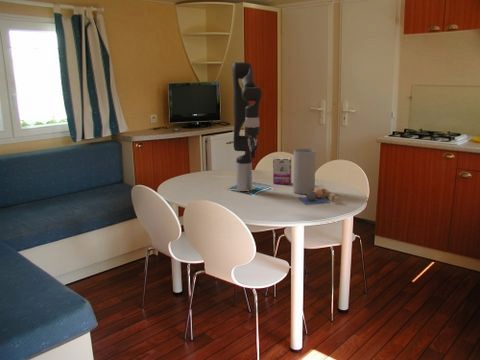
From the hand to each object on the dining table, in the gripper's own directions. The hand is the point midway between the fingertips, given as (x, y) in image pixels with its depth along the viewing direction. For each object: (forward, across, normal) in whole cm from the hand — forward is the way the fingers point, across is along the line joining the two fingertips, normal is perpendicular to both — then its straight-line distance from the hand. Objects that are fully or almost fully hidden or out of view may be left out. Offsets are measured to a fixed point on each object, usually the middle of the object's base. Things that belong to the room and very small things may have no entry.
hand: (252, 157), depth 246 cm
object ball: (+23, +3, +37) cm, 44 cm away
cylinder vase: (+26, -12, +35) cm, 45 cm away
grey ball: (+23, +6, +32) cm, 39 cm away
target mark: (+26, +6, +33) cm, 42 cm away
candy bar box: (+26, -35, +30) cm, 53 cm away
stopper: (+26, +6, +43) cm, 50 cm away
